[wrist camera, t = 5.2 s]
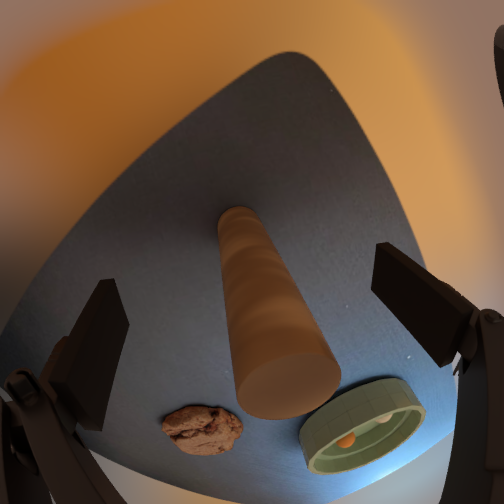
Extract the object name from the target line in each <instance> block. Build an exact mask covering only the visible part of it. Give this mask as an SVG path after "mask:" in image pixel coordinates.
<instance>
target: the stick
mask: <svg viewBox="0 0 504 504" xmlns="http://www.w3.org/2000/svg"><path fill="white" fill-rule="evenodd" d="M217 230H218V241H219V251H220V262H221V272H222V281H223V291H224V300H225V309H226V318H227V326H228V335H229V343H230V351H231V359H232V366H233V374H234V381H235V389H236V396H237V401H238V404H239V405H240V407H241V408H242V409H243V410H244V411H245V412H246V413H248V414H250V415H251V416H254V417H257V418H260V419H266V420H282V419H289V418H294V417H297V416H300V415H303V414H306V413H308V412H310V411H312V410H314V409H316V408H318V407H319V406H321V405H322V404H324V403H325V402H326V401H327V400H328V399H329V398H330V397H331V396H332V395H333V394H334V393H335V391H336V390H337V388H338V386H339V384H340V381H341V369H340V366H339V365H338V363H337V361H336V359H335V357H334V355H333V353H332V351H331V349H330V347H329V345H328V344H327V342H326V340H325V338H324V336H323V334H322V332H321V330H320V328H319V327H318V325H317V323H316V321H315V319H314V317H313V315H312V313H311V312H310V310H309V308H308V306H307V304H306V302H305V300H304V299H303V297H302V295H301V293H300V291H299V289H298V288H297V286H296V284H295V282H294V280H293V278H292V277H291V275H290V273H289V271H288V269H287V268H286V266H285V264H284V262H283V260H282V258H281V257H280V255H279V253H278V251H277V249H276V248H275V246H274V244H273V242H272V241H271V239H270V237H269V235H268V233H267V232H266V230H265V228H264V226H263V224H262V223H261V221H260V219H259V217H258V216H257V214H256V213H255V212H254V211H253V210H251V209H249V208H247V207H242V206H237V207H233V208H230V209H228V210H227V211H225V212H224V213H223V214H222V216H221V217H220V219H219V221H218V226H217Z"/></svg>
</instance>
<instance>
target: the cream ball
mask: <svg viewBox="0 0 504 504" xmlns="http://www.w3.org/2000/svg"><path fill="white" fill-rule="evenodd" d="M391 417H392V414H390V415H388V416H385V417H382V418H380V419H377V420H375V421H376V422H378V423H385V422H387V421H388V420H389V419H390V418H391Z"/></svg>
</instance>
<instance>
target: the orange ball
mask: <svg viewBox="0 0 504 504" xmlns="http://www.w3.org/2000/svg"><path fill="white" fill-rule="evenodd" d="M354 441H355V434H354V433H353V432H351V433H350V434H348V435H346V436H344V437H343V438H341V439H339V440H337V441H336V444H337V445H338V446H339V447H342V448H347V447H349V446H351V445H352V444H353V443H354Z"/></svg>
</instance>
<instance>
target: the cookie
mask: <svg viewBox="0 0 504 504" xmlns="http://www.w3.org/2000/svg"><path fill="white" fill-rule="evenodd" d="M165 418H166V419H165V421H164V422H163V423H162V426H163V427H162V431H164V432H165V433H167V435H168V436H169V435H170V438H171V440H172V441H173V443H174V444H175V445H176V446H178V447H179V448H180V449H181V450H182V451H183V452H186V453H189V454H195V455H213V454H219V453H223V452H224V451H225V450H226V451H228V450H231V449H232V447H233V442H234V440H235V439H238V438H240V433H242V431H243V424H242V423H241V421H240V420H239V419H238V418H237V417H236V416H235V415H234V414H231V413H229V411H228V412H226V410H223V409H222V408H217V409H215V408H214V409H212V408H208V407H198V406H194V407H193V406H190V407H185V408H184V409H180V410H179V411H176V412H174V413H173V414H171V415H168V416H167V417H165Z"/></svg>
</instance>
